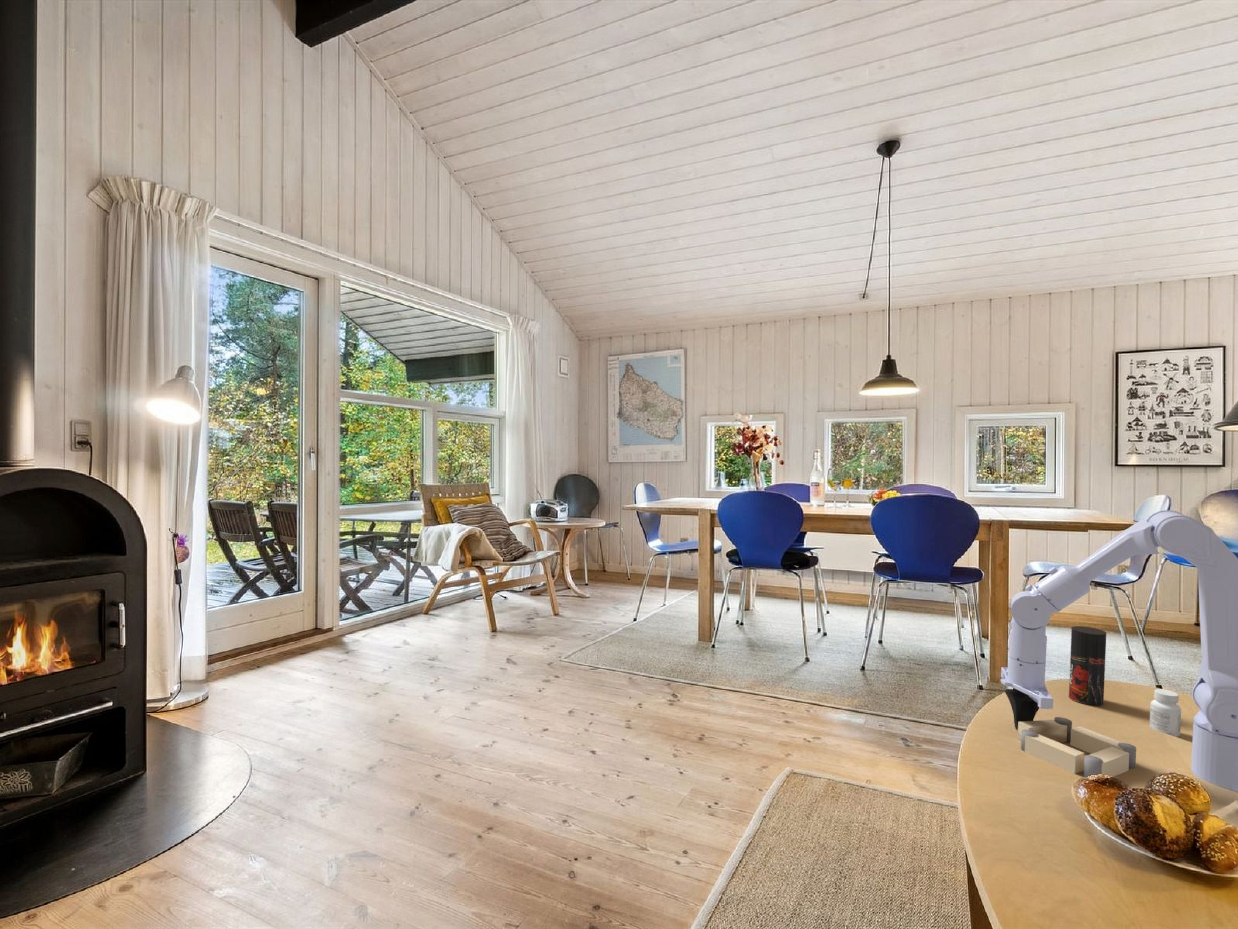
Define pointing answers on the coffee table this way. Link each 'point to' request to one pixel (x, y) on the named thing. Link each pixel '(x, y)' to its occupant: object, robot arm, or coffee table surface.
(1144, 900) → the coffee table surface
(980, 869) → the coffee table surface
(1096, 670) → the deodorant
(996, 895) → the coffee table surface
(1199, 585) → the robot arm
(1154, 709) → the pill bottle
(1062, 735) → the beige long rectangular block
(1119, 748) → the hinged beam frame
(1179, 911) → the coffee table surface
